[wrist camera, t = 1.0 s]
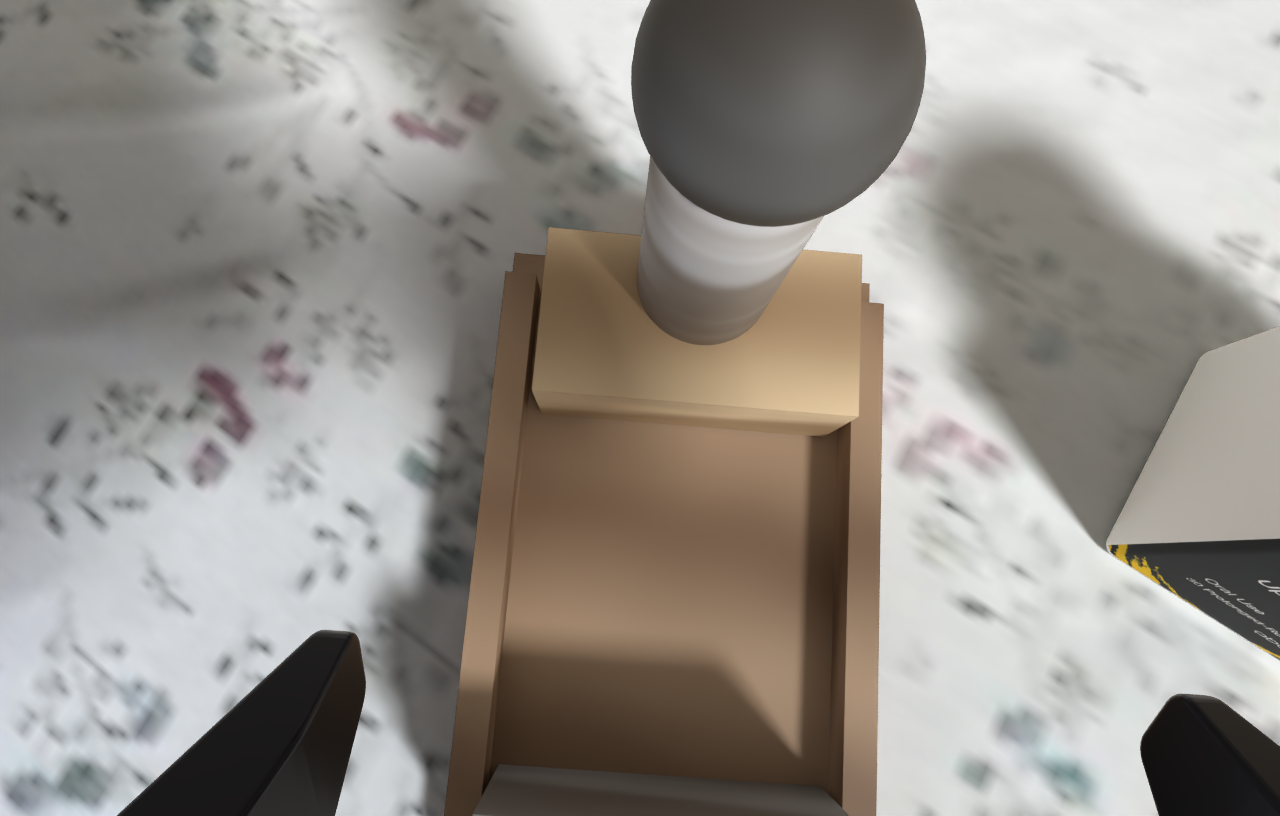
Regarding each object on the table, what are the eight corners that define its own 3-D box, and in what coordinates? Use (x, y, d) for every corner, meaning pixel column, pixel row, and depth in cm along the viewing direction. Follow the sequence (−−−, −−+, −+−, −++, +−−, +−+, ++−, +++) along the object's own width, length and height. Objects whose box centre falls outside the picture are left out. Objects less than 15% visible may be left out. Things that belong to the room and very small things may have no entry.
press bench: (840, 883, 21) (922, 995, 15) (456, 858, 20) (402, 964, 15) (853, 301, 24) (925, 224, 19) (520, 272, 24) (495, 185, 18)
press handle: (823, 436, 21) (1146, 250, 9) (541, 414, 21) (448, 187, 8) (829, 262, 22) (1125, -137, 10) (559, 238, 22) (498, -201, 9)
